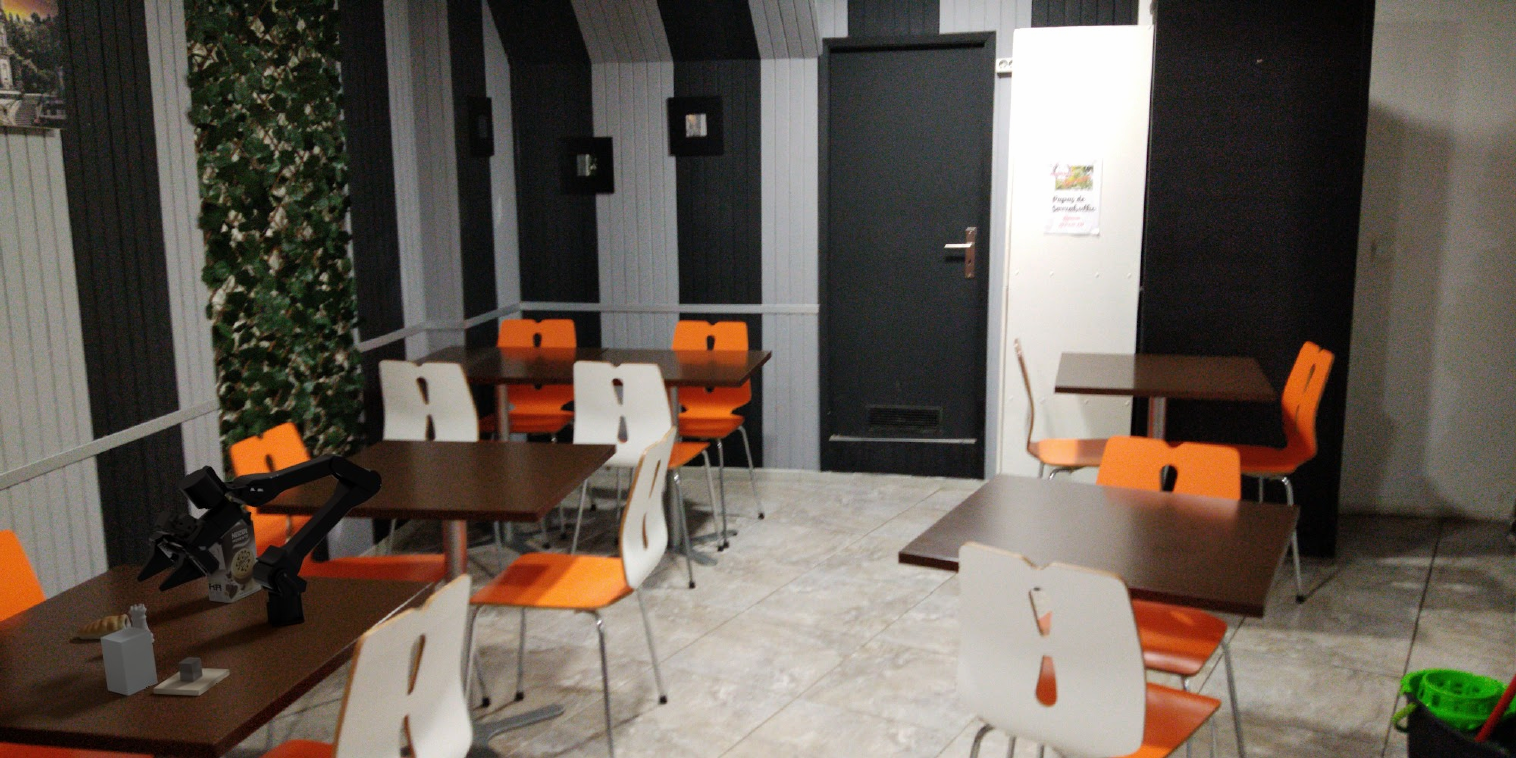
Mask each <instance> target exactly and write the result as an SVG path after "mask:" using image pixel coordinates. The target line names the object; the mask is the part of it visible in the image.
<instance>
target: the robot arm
mask: <svg viewBox="0 0 1516 758" xmlns="http://www.w3.org/2000/svg"><path fill="white" fill-rule="evenodd" d="M328 476H332V477H333V479H335V480H337V482H336V485H335V489H334V492H333V494H332V495H331V497H329V499H328V500H327V501H326V502H325V503H324V504H323V505H322V506H321V507H320V508H319V509H318V510H317V511H316V512H315V513H314V514H313V515H312V516H311V517H310V518H309V519H308V520H307V521H306V522H305V523H304V524H303V525H302V527H300V529H299V530H298V531H296V533H294V535H293V536H292V537H291V538H290V539H288V541H287V542H286V543H285V544H283V545H280V546H277V545H273V544H270V545H268V546H267V547H266V548H265V550H264V551H263V552H262V553H261V555H258V556H257V558H256V560H258V561H257V562H256V563H255V564H254V566H253V568H252V570H253V572H252V575H253V579H254V580H255V582H256V583H258V584H260V585H261V589H262V590H263V591H265V592H266V591H267V595H268V598H266V599H265V606H266V616H267V621H268V622H269V623H270V627H271V628H274V627H280V626H287V625H292V624H297V623H298V624H299V623H303V622H305V621H306V620H305V619H306V617H305V609H304V608H303V607H304V606H303V598H302V593H305V592H306V590H307V586H308V581H307V580H305V578H303V577H301V576H299V574H300V573H301V569H302V566H303V562H304V560H305V558H306V557H307V556H308V555H309V554H310V553H312V551H313V550H314V549H315V548H316V546H317V545H319V544H320V543H321V542H322V541H323V539H324V538H326V536H327V535H328V534H329V533H330V532H331V531H332V530H333V529H334V528H335V527H336V526H337V525H338V524H339V523H340V521H342V520H343V519H344V517H345V516H346V515H347V514H349V512H350V511H351V510H352V509H354V508H356V507H359V506H361V505H363V504H365V503H367V502H368V501H370V500H371V499H372V498H373V497H375V496H376V495H377V494H379V492H381V489H382V487H383V485H382V483H383V480H382V476H381V474H380V473H379V472H378V471H376V470H374V469H370V468H365V467H363V466H360V465H358V464H357V463H354V462H352V461H350V460H349V459H346V458H345V457H344V456H343V455H342V454H336V453H333V452H325V453H324V454H321V456H317V457H315V458H311V459H309V460H305V461H302V462H299V463H296V464H293V465H290V466H286V467H285V468H281V469H278V470H275V471H269V472H268V471H267V472H255V473H247V474H240V475H239V476H236V477H235V478H234V479H233V480H229V481H223V480H222V479H221V477H220V476H219V475H218V474H217V473H216V471H215V469H214V468H213V466H211V465H207V464H206V465H204V466H202V468H199V469H196V470H195V471H192V472H190V473H188V474H186V475H185V476H184V477H183V478H182V479H181V480H180V482H179V483H178V488H179V490H180V491H181V492H182V493H183V494H184V496H185V497H186V498H188V500H189V501H190V502H191V504H192V505H194V507H195V508H196V509H198V510H203V509H205V510H206V511H205V512H204V513H203V514H202V515H201V516H200V517H198V518H197V517H194V516H192V515H191V514H189V513H185V512H182V513H181V514H180V515H178V514H175V513H173V512H169V511H167V510H162V512H161V513H160V515H159V516H158V518H157V520H156V522H155V523H154V526H155V527H157V528H161V529H164V530H167V531H168V532H171V533H168V532H166V531H163V530H161V531H155V532H153V533H152V534H151V535H150V536H149V537H148V541H149V542H148V545H149V547H150V549H149V555H148V557H147V559H146V561H145V562H144V563H143V566H142V568H141V570H140V571H139V572H138V574H137V575H136V578H135V580H136V581H137V582H138V583H142V582H144V581H146V580H148V579H150V578H153V577H154V576H156V575H158V574H159V573H162V572H163V571H165V570H167V569H169V568H171V567H173V566H174V565H176V564H175V563H176V562H178V563H177V565H176V566H175V567H174V568H173V569H172V571H171V572H170V573H169V574H168V575H167V576H166V577H165V578H164V579H163V580H162V582H161V583H160V584H159V585H158V587H157V588H158V590H159V591H160V592H161V593H164V592H166V591H168V590H171V589H174V588H176V587H179V586H182V585H185V584H186V583H190V582H193V581H196V580H198V579H201V578H207V575H210V576H212V575H213V574H214V573H215V572H216V571H217V570H218V569H219V564H220V562H219V561H218V560H217V559H216V558H215V556H214V555H213V554H212V553H211V552H210V551H209V549H211V548H212V547H213V546H214V545H215V544H217V545H221V544H222V543H223V542H224V541H223V540H222V539H221V538H222V537H223V536H224V535H225V534H226V533H227V532H229V531H230V530H231V529H232V528H233V527H234V526H235V525H236V524H237V523H238V522H239V523H241V524H244V525H247V526H250V525H251V520H252V512H251V511H248V510H244V509H243V507H242V506H241V505H243V506H247V507H252V508H260V507H263V506H265V505H267V504H268V503H270V502H272V501H274V500H275V499H277V497H279V495H281V494H282V493H284V492H286V491H288V490H291V489H294V488H296V487H300V486H302V485H306V484H308V483H312V482H313V481H314V482H315V481H317V480H321V479H323V478H326V477H328ZM227 496H229V497H231V498H232V500H230V499H229V498H228V497H227ZM240 504H241V505H240Z"/></svg>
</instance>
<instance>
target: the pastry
mask: <svg viewBox="0 0 1516 758" xmlns="http://www.w3.org/2000/svg"><path fill="white" fill-rule="evenodd" d="M130 621H131V620H130V618H129V616H128V615H127V614H126V613H124V614H122V615H110V616H105V617H104V618H99V619H96V620H95V621H91V622H90V623H87V624H85V625H83V626H82V627H80V629H78V630H77V631H76V635H77V636H78V638H79V639H81V640H84V639H100V638H101V637H104V636H106V635H109V634H112V633H114V632H117V631H119V630H122V629H125V628H127V627H130V626H131V627H132V624H131V623H132V622H130ZM100 640H101V639H100Z"/></svg>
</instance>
